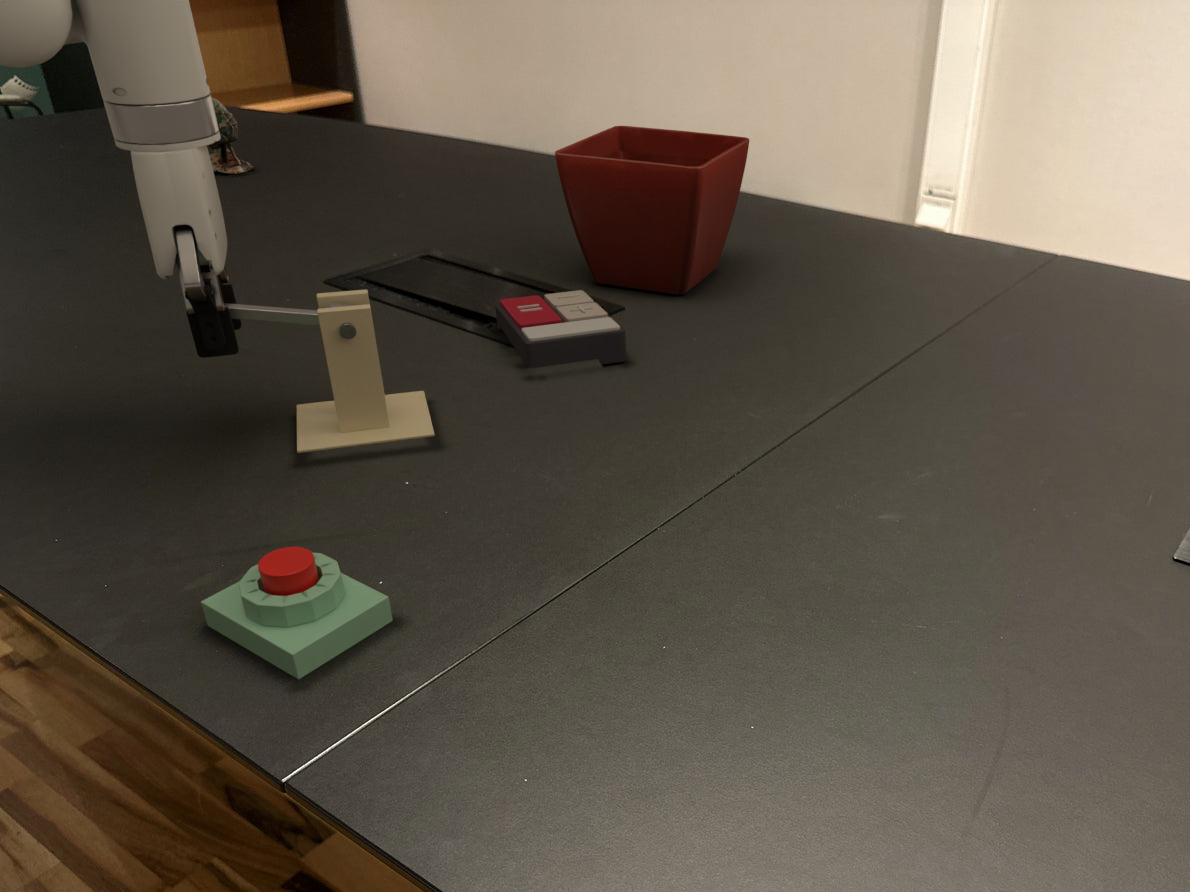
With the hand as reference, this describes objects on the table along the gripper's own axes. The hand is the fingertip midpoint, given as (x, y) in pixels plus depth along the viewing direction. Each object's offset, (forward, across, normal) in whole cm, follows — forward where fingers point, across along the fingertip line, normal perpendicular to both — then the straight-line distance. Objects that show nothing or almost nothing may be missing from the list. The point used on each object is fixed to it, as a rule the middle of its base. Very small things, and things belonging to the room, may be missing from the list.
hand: (220, 340), depth 91 cm
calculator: (+11, -16, +32) cm, 38 cm away
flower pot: (+11, -36, +50) cm, 62 cm away
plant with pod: (+10, -108, -6) cm, 109 cm away
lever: (0, 0, +5) cm, 5 cm away
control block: (+10, +30, +4) cm, 32 cm away
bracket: (+10, 0, +10) cm, 15 cm away
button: (+7, +30, +5) cm, 31 cm away
